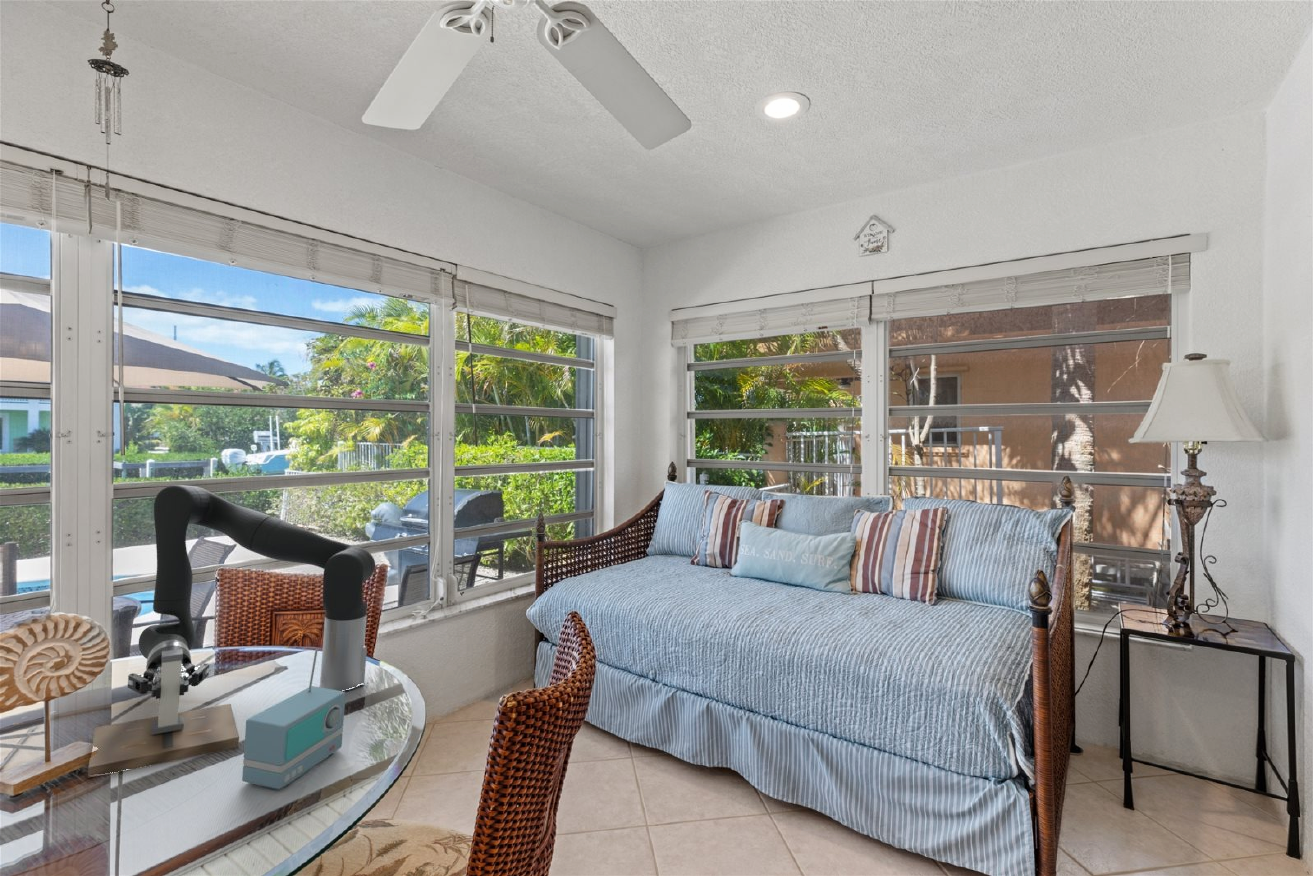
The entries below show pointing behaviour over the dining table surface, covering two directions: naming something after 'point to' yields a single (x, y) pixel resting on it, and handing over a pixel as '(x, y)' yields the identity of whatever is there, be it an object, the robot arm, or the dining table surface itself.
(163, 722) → the fader
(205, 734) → the brown wooden board
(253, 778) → the radio
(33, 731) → the dining table surface
